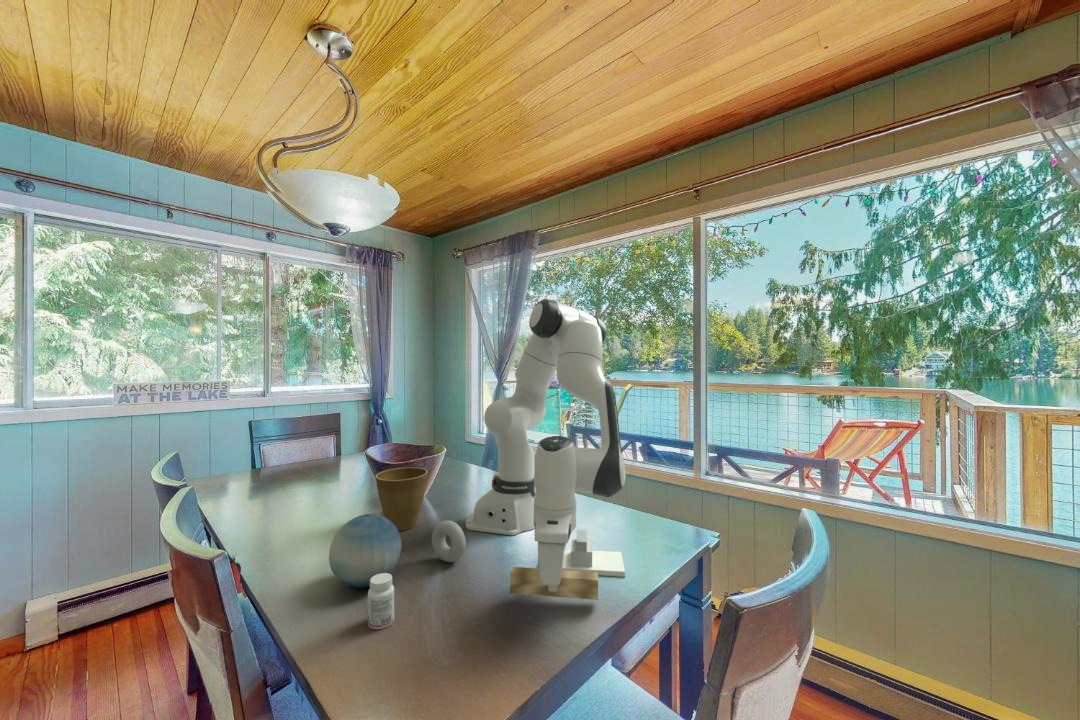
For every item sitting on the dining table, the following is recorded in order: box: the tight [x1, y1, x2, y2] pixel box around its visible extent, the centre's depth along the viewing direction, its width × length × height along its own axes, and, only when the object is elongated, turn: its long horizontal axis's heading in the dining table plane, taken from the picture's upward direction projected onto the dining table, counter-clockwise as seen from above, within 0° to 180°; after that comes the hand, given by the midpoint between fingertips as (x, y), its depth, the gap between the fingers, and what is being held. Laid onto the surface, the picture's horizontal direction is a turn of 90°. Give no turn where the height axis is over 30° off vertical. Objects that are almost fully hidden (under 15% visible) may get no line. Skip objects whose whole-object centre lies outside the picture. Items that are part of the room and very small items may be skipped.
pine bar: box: [509, 566, 599, 601], centre depth 86 cm, size 18×3×4 cm, turn 84°
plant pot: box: [375, 466, 428, 532], centre depth 126 cm, size 15×15×16 cm
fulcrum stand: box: [562, 529, 626, 578], centre depth 103 cm, size 20×10×7 cm, turn 84°
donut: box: [431, 520, 467, 563], centre depth 104 cm, size 10×4×10 cm, turn 61°
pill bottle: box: [367, 573, 395, 630], centre depth 80 cm, size 5×5×8 cm
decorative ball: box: [328, 513, 402, 589], centre depth 94 cm, size 15×15×15 cm
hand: (553, 583), depth 86 cm, fingers closed on pine bar, 3 cm apart
